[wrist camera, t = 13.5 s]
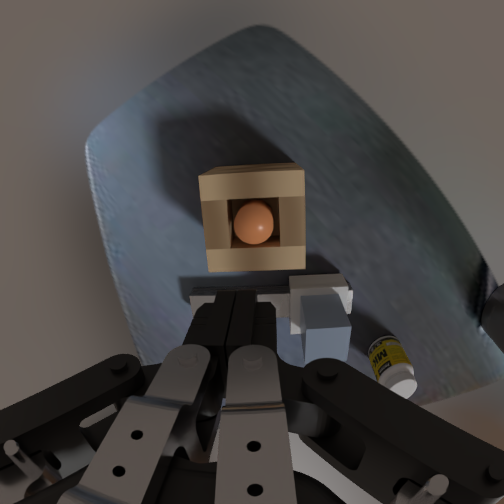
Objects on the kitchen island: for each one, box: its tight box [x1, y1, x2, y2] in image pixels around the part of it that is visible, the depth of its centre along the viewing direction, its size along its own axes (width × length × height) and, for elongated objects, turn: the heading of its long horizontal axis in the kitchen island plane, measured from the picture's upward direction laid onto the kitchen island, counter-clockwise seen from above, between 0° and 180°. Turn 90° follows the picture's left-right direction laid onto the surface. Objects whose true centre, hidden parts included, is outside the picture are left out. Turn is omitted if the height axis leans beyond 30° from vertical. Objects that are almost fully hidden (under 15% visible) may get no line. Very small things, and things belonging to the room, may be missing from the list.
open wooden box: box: [198, 163, 306, 272], centre depth 28 cm, size 8×8×8 cm
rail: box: [189, 282, 353, 319], centre depth 34 cm, size 18×3×2 cm, turn 93°
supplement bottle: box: [368, 336, 417, 399], centre depth 33 cm, size 5×5×8 cm
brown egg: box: [234, 199, 273, 244], centre depth 25 cm, size 3×3×3 cm
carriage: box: [289, 274, 352, 364], centre depth 30 cm, size 6×6×9 cm
